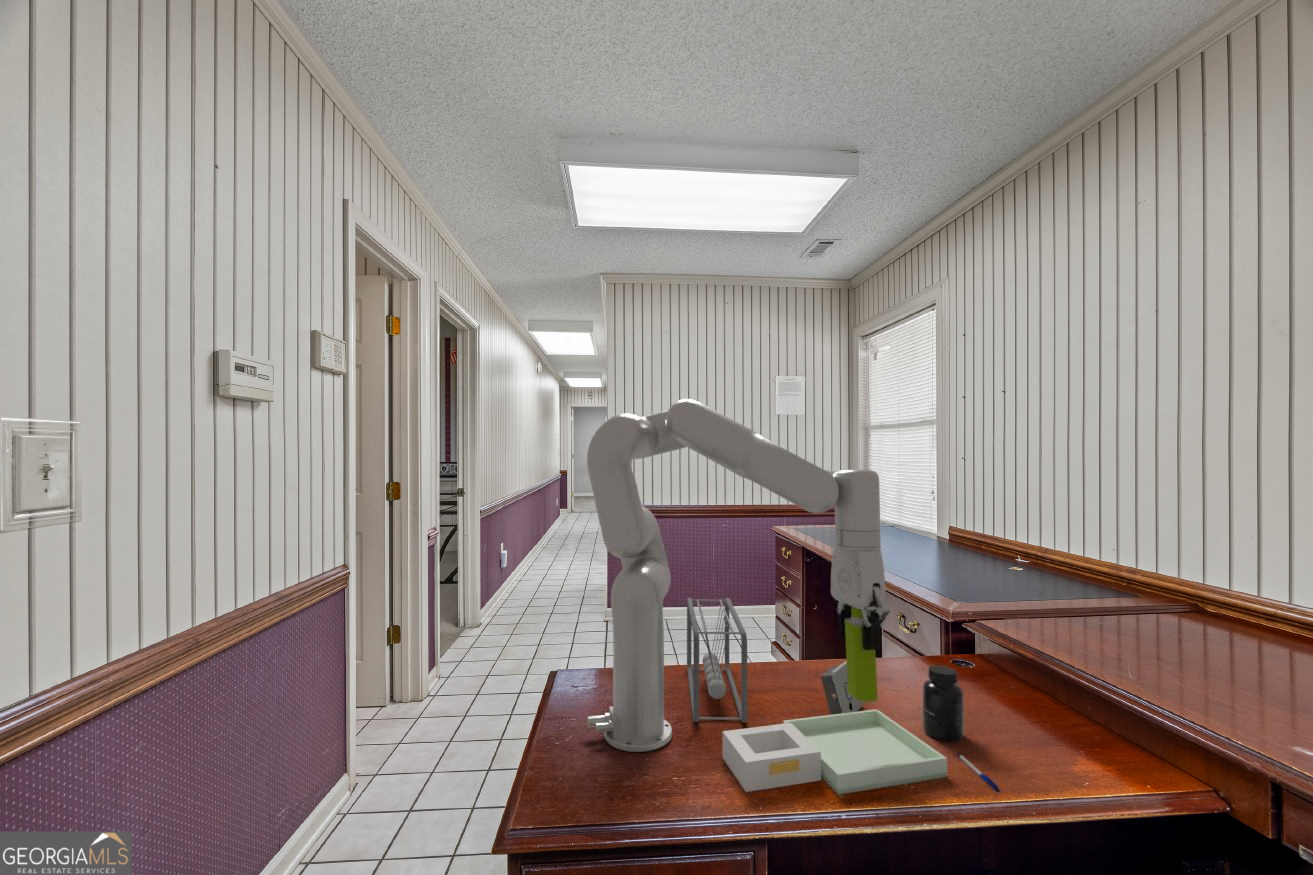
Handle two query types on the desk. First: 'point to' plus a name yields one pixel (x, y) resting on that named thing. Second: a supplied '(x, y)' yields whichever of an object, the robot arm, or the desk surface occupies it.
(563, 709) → the desk surface
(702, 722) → the desk surface
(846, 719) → the parts tray
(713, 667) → the newton's cradle
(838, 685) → the electrical switch
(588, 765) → the desk surface
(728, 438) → the robot arm
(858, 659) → the vape
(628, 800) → the desk surface
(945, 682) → the supplement bottle
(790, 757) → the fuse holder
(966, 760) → the ballpoint pen
